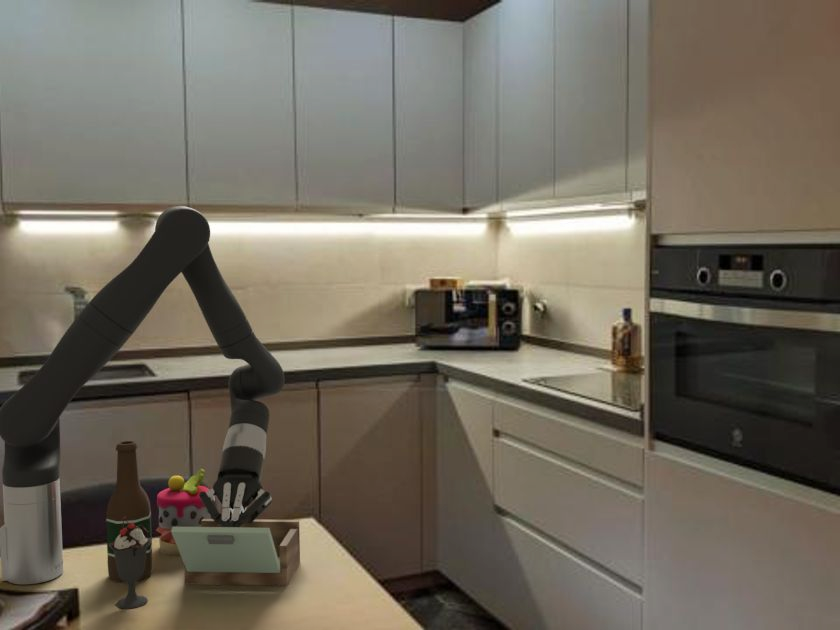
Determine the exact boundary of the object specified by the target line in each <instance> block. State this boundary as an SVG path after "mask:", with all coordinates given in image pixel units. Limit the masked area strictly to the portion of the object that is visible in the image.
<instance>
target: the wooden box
mask: <svg viewBox="0 0 840 630" xmlns="http://www.w3.org/2000/svg"><path fill="white" fill-rule="evenodd" d="M201 527H221V524H216V523H215V521H214V520H213V518H211V519H203V520H202V521H201ZM240 527H248V528H270V532H271V535H272V539H273V542H274V546H275V550H276V553H277V557H278V560H279V564H280V567H281V571H280V573H255V572H189V571H187V569H186V566H185V564H184V563H183V571H184V573H183V574H184V576H183V579H184V585H217V586H218V585H220V586H223V585H224V586H225V585H226V586H229V585H230V586H233V585H234V586H238V585H239V586H278V587H279V586H280V587H281V586H283V587H285V586H286V587H287V586H288V585H289V583H290V581H291V579H292V578H293V576H294V575H295V572H296V571H297V569H298V567H299V565H300V564H301V550H300V549H301V548H300V547H301V546H300V544H301V543H300V542H301V541H300V534H301V533H300V520H299V519H257V518H256V519H255V520H254V521H253V522H252V523H251V524H243V525H241V526H240Z"/></svg>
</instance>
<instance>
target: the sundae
mask: <svg viewBox="0 0 840 630" xmlns="http://www.w3.org/2000/svg"><path fill="white" fill-rule="evenodd" d="M122 520H123V527H122V530H120V535H119V536H118V537H117V538H116V540H115V541H114V542H112V543H110V544H109V547H110V548H111V549H113V551H114V556H115V561H116V567H117V571H118V575H119V577H120V578H121V579H122V580H123V581H125V582H124V583H126V584H127V594H126V595H125V597H122V598H120V599H119V600H117V602H116V603H115V605H116V607H118V608H120V609H124V610H125V609H129V610H130V609H136V608H139V607H142V606H144V605H146V604H147V603H148V601H149V599H148V598H147V597H145V596H143V595H138V594H137V592H136V591H137V590H136V583H137V582H138V581H137V580H138V579H140V577H141V576H142V575H143V573H144V568H145V560H146V551H147V547H148V546H149V545H150V543H151V539H150V538H146V537H147V535H148V531H147V530H146V529H145V528H144V527H143V526H142V525H139V527H138V526H135V525H134V524H133V523H129V522H128V521H126V522H127V523H128V524H129V525H128V526H127V527H125V528H124V520H126V517H124V518H122Z"/></svg>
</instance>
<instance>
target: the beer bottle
mask: <svg viewBox="0 0 840 630" xmlns="http://www.w3.org/2000/svg"><path fill="white" fill-rule="evenodd" d="M138 447H139V446H138V443H137V442H136V441H133V440H124V441H120V442H118V443H117V444H116V447H115V451H117V455H116V456H117V461H116V483H115V489H114V491H113V493H112V495H111V496H110V498H109V499H108V500H109V501H108V503H107V506H106V513H105V514H106V518H105V519H106V520H105V521H106V522H105V523H106V524H105V525H106V547H107V549H106V550H107V551H106V553H107V571H108V572H107V573H108V578H109V580H110V581H114V582H116V583H120V584H121V583H123V584H124V583H126V582H125V581H123V580H122V579H121V578H120V577H119V575H118V571H117V567H116V561H115V556H114V551H113V549H111V548H110V547H109V544H110V543H112V542H114V541H115V540H116V538H117V537H118V536H119V535H120V530H122V527H123V520H122V518H124V517H126V520H124V528H125V527H127V526H128V525H129V524H128V523H127V522H126V521H128V522H129V523H133V524H134V525H135V526H138V527H139V525H142V526H143V527H144V528H145V529H146V530H147V531H148V535H147V537H146V538H150V539H151V543H150V545H149V546H148V547H147V551H146V560H145V568H144V573H143V575H142V576H141V577H140V579H138V580H137V581H136V582H138V581H141V580H144V579H147V578H149V577H150V575H151V573H152V571H153V539H152V538H153V537H152V535H153V534H152V533H153V532H152V511H151V501H150V498H149V496H148V494H147V492H146V491H145V489H144V488H143V487H142V486H141V482H140V478H139V476H140V475H139V469H138V460H137V459H138V458H137V449H138Z"/></svg>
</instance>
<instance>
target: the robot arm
mask: <svg viewBox="0 0 840 630" xmlns="http://www.w3.org/2000/svg"><path fill="white" fill-rule="evenodd" d="M210 227H211V226H210V224H209V222H208V219H207V218H206V216H204V214H203V213H201V212H200V211H198V210H197V209H194V208H191V207H188V206H185V205H176V206H171V207H168V208H167V209H165V210H163V211H162V212H161V214H160V215H159V216H158V218H157V221H156V223H155V227H154V232H153V234H152V235H151V237H150V239H148V241H147V242H146V244H145V245H144V247H143V248H142V249H141V251H140V252H139V253H138V255H137V256H136V257H135V258H134V260H132V261H131V263H130V264H129V265H128V266H127V267H125V268H124V269H123V270H122V271H120V272H119V273H118V274H117V275H116V276H114V277H113V278H112V279H111V280H110V281H109V282H108V283H106V285H104V286H103V287H102V288H101V289H100V290H99V291H98V292H97V293H96V294H95V295H94V296H93V298H91V300H90V301H89V302H88V303H87V304H86V305H85V307H84V308H83V309H82V310H81V312H79V314H78V315H77V316H76V317H75V319H74V320H73V322H71V325H69V327H68V329H66V331H65V332H64V333H63V336H62V337H61V338H60V340H59V341H58V343H57V344H56V345H55V348H53V350H52V352H51V353H50V355H49V356H48V358H47V359H46V361H45V362H44V363H43V365H42V366H41V367H40V368H39V369H38V370H37V371H36V372H35V374H34V375H32V377H31V378H30V379H28V381H27V382H25V383H24V385H23V386H22V387H20V388H19V390H17V391H16V392H15V393H14V394H13V395H11V396H10V397H9V398H8V399H7V400H5V402H3V404H2V405H1V406H0V438H1V439H2V441H3V442H4V456H3V457H4V458H3V465H2V470H1V476H2V494H3V495H2V498H3V517H4V524H3V525H2V526H1V527H0V570H1V571H0V573H1V581H2V582H5V581H6V582H9V583H11V584H14V585H34V584H40V583H45V582H49V581H51V580H54V579H57V578H58V577H60V576H61V575H62V574H63V573H64V557H63V556H64V555H63V552H64V551H63V534H62V533H63V532H62V531H63V529H62V508H61V507H62V505H61V486H60V485H61V483H60V481H61V480H60V466H61V465H60V463H61V426H60V425H61V421H60V417H61V416H62V415H63V413H64V411H65V409H66V408H67V407H68V405H69V404H70V403H71V401H72V400H73V398H74V397H75V396H76V394H77V393H78V392H79V391H80V390H81V389H82V387H83V386H85V384H86V383H88V382H89V381H90V380H91V379H92V378H93V377H94V376H95V375H96V374H97V373H98V372H99V371H101V370H102V369H103V368H104V367H105V365H107V363H108V362H110V360H112V358H113V357H114V356H115V355H116V354H117V353H118V352H119V351H120V350H121V348H122V347H123V346H124V345H125V344H126V343H127V342H128V340H130V338H131V337H132V336H133V334H134V333H135V332H136V330H137V329H138V328H139V326H141V324H142V323H143V321H144V320H145V319H146V317H148V314H149V313H150V312H151V311H152V309H153V308H154V307H155V305H156V303H157V302H158V301H159V299H160V297H161V296H162V294H163V292H164V291H166V289H167V288H168V287H169V285H170V284H171V283H172V282H173V281H174V280H175V279H176V278H177V277H178V276H179V275H180V274H182V276H183V277H184V279H185V281H186V283H187V284H188V286H189V288H190V290H191V292H192V294H193V295H194V296H193V297H194V298H195V300H196V303H197V305H198V307H199V309H200V311H201V314H202V316H203V318H204V320H205V322H206V324H207V326H208V329H209V331H210V333H211V334H212V337H213V339H214V340H215V342H216V344H217V346H218V348H219V351H220V352H221V354H222V355H223V357H224V358H226V359H228V360H241V361H245V362H246V363H247V364H244V365H240V366H239V367H236V368H235V369H233V371H232V372H231V374H230V376H229V379H228V393H229V399H230V411H231V415H230V418H229V424H228V429H227V432H226V436H225V438H224V442H223V448H222V453H221V458H220V463H219V467H218V473H217V478H216V480H215V482H214V483H213V485H212V488H210V490H209V491H208V492H204V491H202V492H200V493H199V497H200V499H201V501H202V503H203V504H204V506H205V507H206V509H207V510H208V512H209V514H210V515H211V519H213V520H214V521H215V523H216V524H221V527H240V526H241V525H243V524H251V523H252V522H253V521H254V520H255V519H257V518H258V517H259V516H260V515H261V514H262V513H263V512H264V511H265V510H266V509H267V508H268V507H269V506H270V505H271V504H272V502H273V499H272V496H271V494H270V492H269V491H266V490H263V485H262V483H261V481H262V474H263V469H264V463H265V462H264V461H265V458H266V454H267V453H266V450H267V435H268V428H269V421H270V410H269V408H268V406H267V405H266V404H265V403H263V402H261V401H258V400H260V399H263V398H267V397H271V396H275V395H277V394H279V393H280V392H281V391H283V389H284V387H285V381H286V379H285V372H284V371H283V368H282V366H281V364H280V363H279V361H278V360H277V359H276V358H275V357H274V355H273V354H272V353H271V352H270V351H269V350H268V348H266V347H265V345H264V344H263V343H262V342H261V340H260V339H259V338H258V337H257V336H256V334H255V333H254V332H255V331H254V330H253V328H252V326H251V325H250V322H249V320H248V318H247V316H246V314H245V312H244V310H243V309H242V307H241V305H240V303H239V302H238V300H237V299H236V296H235V295H234V293H233V291H232V290H231V288H230V287H229V286H228V284H227V282H226V281H225V279H224V277H223V275H222V273H221V271H220V270H219V267H218V265H217V264H216V261H215V258H214V256H213V253H212V251H211V248H210V244H209V243H210V240H211V239H210V238H211V228H210ZM215 496H216V497H217V498H218V500H219V503H220V504H221V506H222V507H221V508H222V512H221V513H219V510H218V509H217V507H216V506H215V504H214V503H215V501H216V498H215ZM250 504H251V505H250Z"/></svg>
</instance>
